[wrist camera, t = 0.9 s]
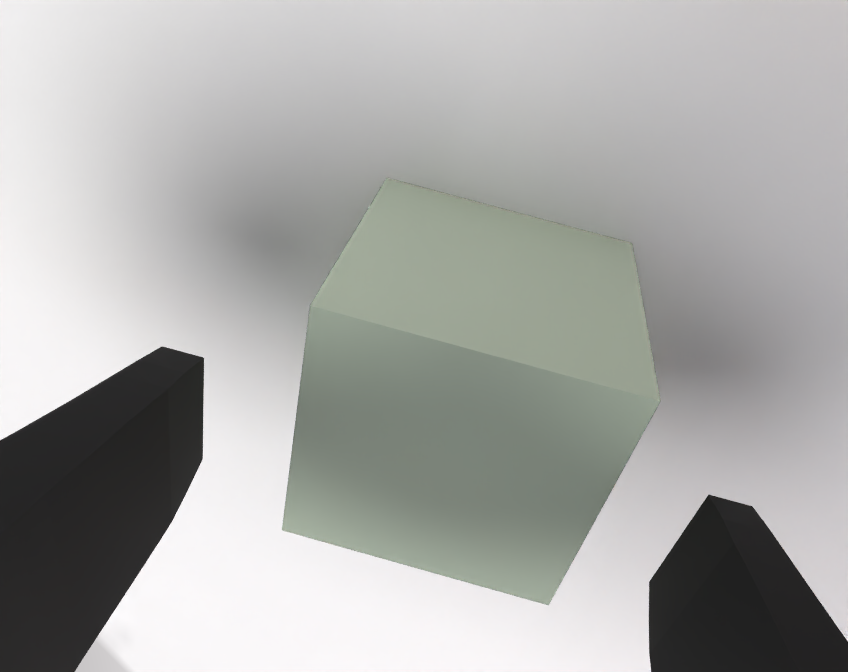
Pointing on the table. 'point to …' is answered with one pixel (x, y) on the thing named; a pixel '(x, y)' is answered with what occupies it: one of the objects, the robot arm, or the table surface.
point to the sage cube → (469, 391)
